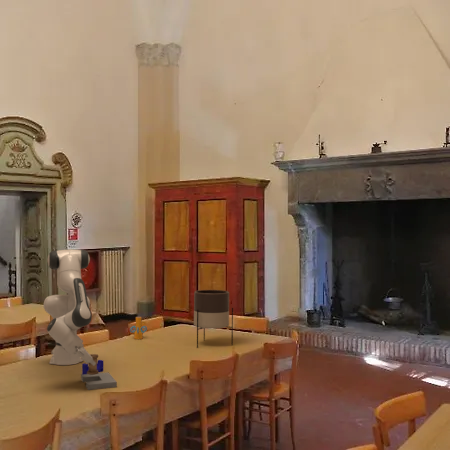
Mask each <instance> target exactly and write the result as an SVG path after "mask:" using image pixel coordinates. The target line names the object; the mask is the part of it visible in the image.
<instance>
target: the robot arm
mask: <svg viewBox="0 0 450 450" xmlns="http://www.w3.org/2000/svg"><path fill="white" fill-rule="evenodd" d="M46 261H47V266H48V267H49V268H50V269H51V270H55V271H56V270H57V280H56V281H57V287H58V288H59V290H61V291H62V292H64V293H66V294H52V295H48V296H47V297H46V298H45V299H44V302H43V310H44V311H45V312H46V313H47V314H48V315H50V316H51V318H52V319H51V321H50V322H49V323H48V324H47V328H46V331H47V333H48V334H49V336H50V337H51V338H52V339H53V340H54V341H55V347H54V348H53V349H52V350H51V357H50V360H49V363H48V364H49V365H58V366H68V365H75V364H79V363H81V362H85V364H89V363H91V364H92V365H93V366H95V365H96V362H95V361H93V358H92V356H91V355H90V353H89V352H88V351H87V349H86V348H85V346H84V345H85V344H83V343H84V340H83V339H82V338H81V337H80V336H79V335H78V333H77V332H78V330H79V329H81V328H83V327H86V326H88V325H89V324H90V323H91V321H92V319H93V318H92V317H93V316H92V311H91V309H90V307H91V300H90V298H89V297H88V295H87V289H86V284H85V282H84V280H83V279H82V271H81V270H83V269H87V267H89V265H90V264H89V263H90V261H91V258H90V254H89V252H88V251H87V250H85V249H74V248H73V249H72V248H71V249H60V250H57V249H56V250H55V249H54V250H52V251H50V252H49V253H48V255H47V259H46Z"/></svg>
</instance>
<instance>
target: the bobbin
mask: <svg viewBox="0 0 450 450" xmlns="http://www.w3.org/2000/svg"><path fill="white" fill-rule="evenodd" d="M89 354H90V353H89ZM90 355H91V356H92V358H93V361H95V362H96V365H95V366H93V365H92V364H91V363H88V367H89V371H87V374H89V375H95V374H98V370H97V362H98V358H99V355H98V354H96V353H94V354H93V353H91V354H90Z"/></svg>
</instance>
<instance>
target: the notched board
mask: <svg viewBox="0 0 450 450" xmlns="http://www.w3.org/2000/svg"><path fill="white" fill-rule="evenodd" d="M80 379H81V381H82V383H85V388H86V389H87V390H88V391H89V390H100V389H110V388H111V389H113V388H118V386H117V385H118V383H117V380H116V379H115V378H114V377H113V376H112V374H110V373H109V372H108V371H107V372H99V373H98V374H95V375H89V374H84V375H82V374H80Z"/></svg>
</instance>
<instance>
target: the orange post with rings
mask: <svg viewBox="0 0 450 450" xmlns="http://www.w3.org/2000/svg"><path fill="white" fill-rule="evenodd" d="M142 322H143V321H142V316H135V325H132V326H131V327H130V328H129V332H130V333H133V338H134V340H142V339H143V337H144V335H143V334H144V333H146V332H147V330H148V327H147V326H146V325H143V326H142V324H143V323H142Z"/></svg>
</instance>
